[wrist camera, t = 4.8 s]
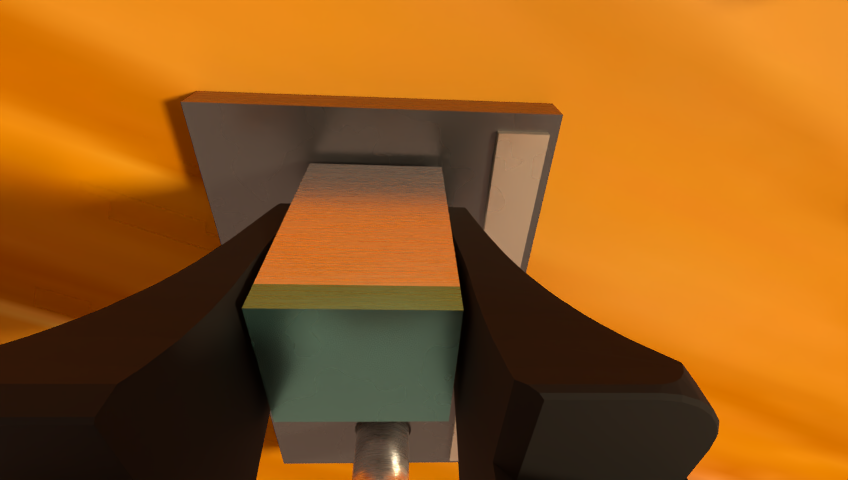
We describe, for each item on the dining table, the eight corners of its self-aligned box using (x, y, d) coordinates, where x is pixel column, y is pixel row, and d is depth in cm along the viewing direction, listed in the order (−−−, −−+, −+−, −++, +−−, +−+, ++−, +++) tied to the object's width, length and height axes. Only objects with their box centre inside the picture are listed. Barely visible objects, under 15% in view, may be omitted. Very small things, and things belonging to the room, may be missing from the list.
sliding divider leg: (434, 259, 13) (448, 421, 9) (321, 257, 13) (273, 421, 8) (441, 167, 11) (463, 310, 7) (309, 163, 11) (241, 308, 7)
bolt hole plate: (478, 443, 22) (481, 465, 21) (289, 443, 22) (283, 467, 21) (552, 103, 12) (564, 117, 11) (196, 91, 11) (176, 104, 10)
